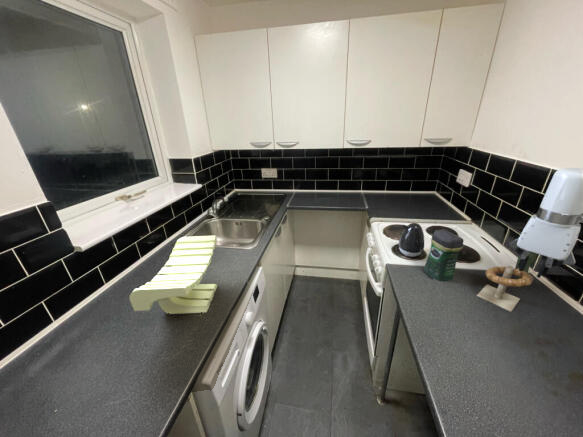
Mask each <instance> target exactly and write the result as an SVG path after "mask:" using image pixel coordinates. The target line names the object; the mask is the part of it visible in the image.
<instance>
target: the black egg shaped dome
mask: <svg viewBox="0 0 583 437" xmlns="http://www.w3.org/2000/svg"><path fill="white" fill-rule="evenodd" d="M401 228H403V229H404V230H403V231H402V233H401V235H400V238H399V240H398V244H397V245H398V249H399V251H400V252H401V253H402V254H403V255H404V256H406V257H409V258H410V257H411V258H414V257H418V256H420V255H421V253H422V252H423V251H424V249H425V234H424V230H423V228H422V226H421V225H420V224H419V223H417V222H411V223H409V224H408V225H405V224H401Z"/></svg>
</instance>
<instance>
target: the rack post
mask: <svg viewBox="0 0 583 437" xmlns="http://www.w3.org/2000/svg"><path fill="white" fill-rule="evenodd" d="M505 267H506V269H505V271H504V273H502V276H501V277H503V278H507V279H512V277H513V276H514V275H513V273H514V270H515V266H512V265H506V266H505ZM507 288H508V286H505V285H501V284H498V286H497V288H496V287H494V286H491V285H490V284H485V285H484V287H483V288H482V289H481V290H480V291H479V292H478V294H476V297H479V298H480V299H483V300H485V301H487V302H489V303H491V304H494V305H495V306H498V307H500V308H501V309H504V310H506V311H508V312H510V313H512V311H514V308H515V307H516V306H517V304H518V303H519V301H520V300H521V298H519V297H518V296H516V295H515V296H514V295H512V294H510V293H507V292H506V291H507Z"/></svg>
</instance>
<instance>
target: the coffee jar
mask: <svg viewBox="0 0 583 437" xmlns="http://www.w3.org/2000/svg"><path fill="white" fill-rule="evenodd" d="M430 239H431V240H430V249H429V253H428V256H427V259H426V262H425V264H424V268H423V269H424V272H425V273H426V275H428V276H429V277H430V278H431V279H432V280H436V281H438V282H450V281H453V279H454V276H455V272H456V266H457V262H458V257H459V253H460V251H462V249H463V247H464V238H462V237H461V236H459V235H457V234H455V233H453V232H452V231H449V230H447V229H446V228H443V229H435V231H433V233H432V236H431V238H430Z"/></svg>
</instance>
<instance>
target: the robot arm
mask: <svg viewBox="0 0 583 437" xmlns="http://www.w3.org/2000/svg"><path fill="white" fill-rule="evenodd" d="M580 223H581V224H580ZM582 224H583V168H581V167H580V168H578V167H564V168H560V169H558V170H556V171H555V172H554V173H553V176H552V178H551V180H550V182H549V184H548V187H547V189H546V192H545V194H544V196H543V198H542V201H541V203H540V205H539V208H538V211H537V212H536V214H532V215H531V217H530V218H529V219H528V221H527V223H526V224H525V226H524V227H523V230H522V232H521V233H520V235H519V236H518V237H517V238H514V239H513V240H512V241H510V242H509V243H508V245H509V246H510V247H511V248H512V249H513V250H515V251H516V253H517V254H518V256H519V255H520V258H521V260H520V262H519V264H518V266H519V267H520V269H519V271H523V270H524V268H525V266H526V264H527V262H528V260H529V256H528V254H529V253H530V252H534V253H537V254H538V255H541V256H544V257H546V260H545V262H543V263H542V265H541V267H540V269H539V271H538V272H537V275H536V277H537V278H538V279H540V278H541V277H542V276H544V277H546V275H547V274H548V272H549V269H550V268H552V267H557V266H562V265H563V266H566V265H567V266H573V265H575V264H576V259H575V256H574V252H573V249H574V248H575V245H576V243H577V241H578V238H579V235H580V232H581V228H582Z"/></svg>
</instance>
